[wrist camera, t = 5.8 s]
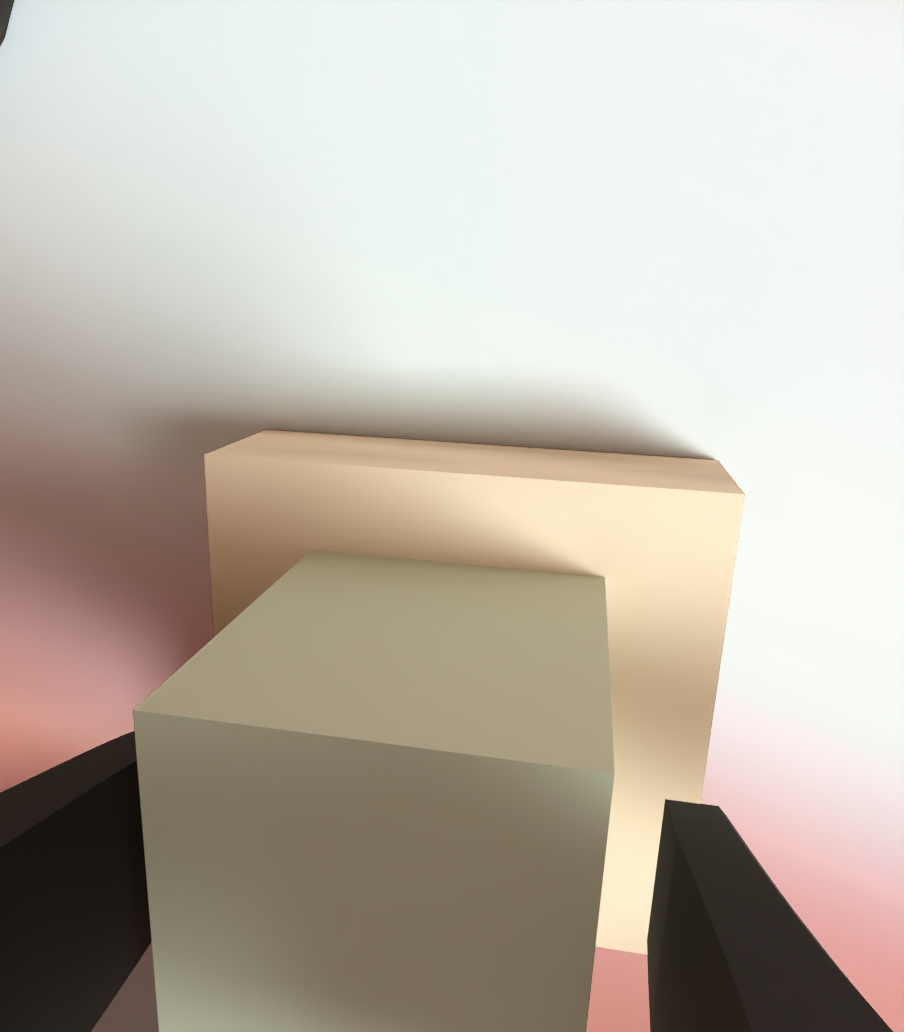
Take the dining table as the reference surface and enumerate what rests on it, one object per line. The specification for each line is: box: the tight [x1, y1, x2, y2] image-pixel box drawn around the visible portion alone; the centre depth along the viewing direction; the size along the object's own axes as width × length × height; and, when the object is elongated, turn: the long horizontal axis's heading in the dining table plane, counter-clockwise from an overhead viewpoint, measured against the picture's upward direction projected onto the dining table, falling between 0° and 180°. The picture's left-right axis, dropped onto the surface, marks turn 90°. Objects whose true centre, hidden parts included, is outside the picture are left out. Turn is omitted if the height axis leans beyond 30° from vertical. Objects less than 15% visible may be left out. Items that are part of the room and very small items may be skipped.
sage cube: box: [133, 550, 615, 1032], centre depth 10 cm, size 4×4×5 cm
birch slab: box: [204, 430, 745, 955], centre depth 14 cm, size 8×8×2 cm
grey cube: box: [91, 942, 159, 1032], centre depth 15 cm, size 4×4×5 cm
